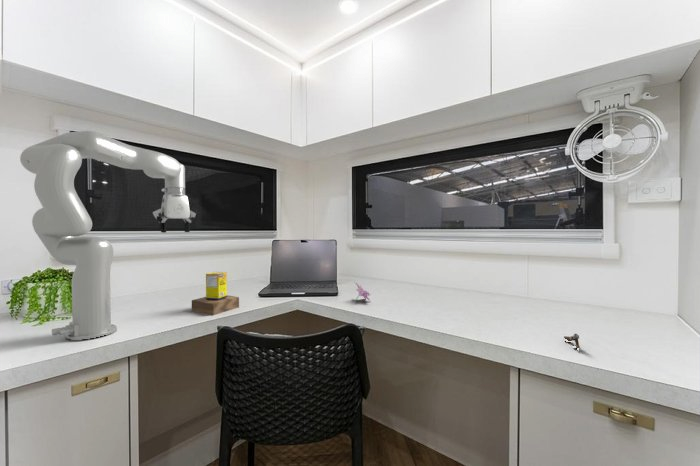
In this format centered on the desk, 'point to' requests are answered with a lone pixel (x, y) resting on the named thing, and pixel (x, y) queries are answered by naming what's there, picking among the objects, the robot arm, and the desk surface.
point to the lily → (362, 292)
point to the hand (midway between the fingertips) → (175, 232)
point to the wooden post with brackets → (573, 339)
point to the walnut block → (215, 305)
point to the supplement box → (216, 285)
